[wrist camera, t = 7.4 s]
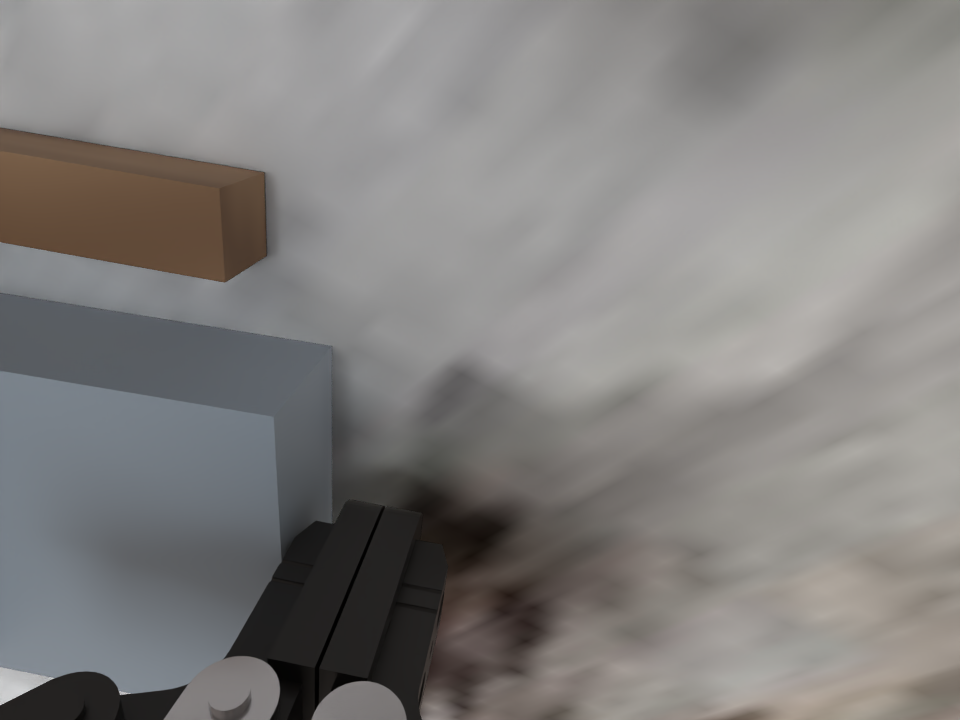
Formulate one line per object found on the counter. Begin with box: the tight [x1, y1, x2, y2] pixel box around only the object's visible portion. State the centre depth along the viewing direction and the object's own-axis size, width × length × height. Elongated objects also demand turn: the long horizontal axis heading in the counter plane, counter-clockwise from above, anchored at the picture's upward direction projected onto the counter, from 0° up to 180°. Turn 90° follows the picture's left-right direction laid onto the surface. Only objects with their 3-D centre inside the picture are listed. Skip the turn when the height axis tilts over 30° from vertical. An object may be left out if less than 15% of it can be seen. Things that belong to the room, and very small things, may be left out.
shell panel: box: [0, 293, 332, 694], centre depth 13 cm, size 8×14×3 cm, turn 83°
